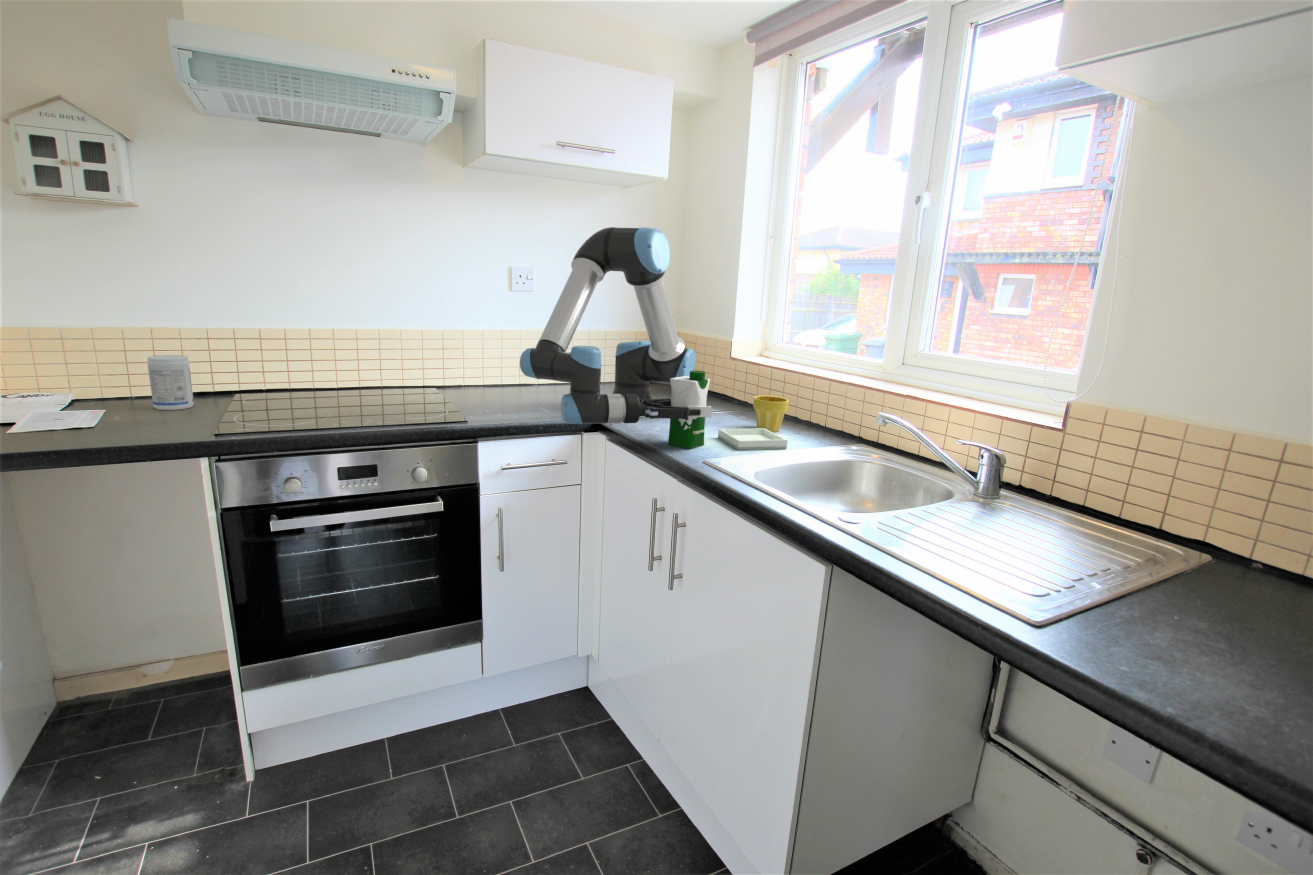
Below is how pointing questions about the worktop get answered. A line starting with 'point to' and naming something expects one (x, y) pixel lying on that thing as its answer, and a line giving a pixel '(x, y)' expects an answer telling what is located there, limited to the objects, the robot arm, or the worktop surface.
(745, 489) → the worktop surface
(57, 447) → the worktop surface
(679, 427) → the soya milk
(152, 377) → the supplement tub
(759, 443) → the sage tray
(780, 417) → the plant pot
